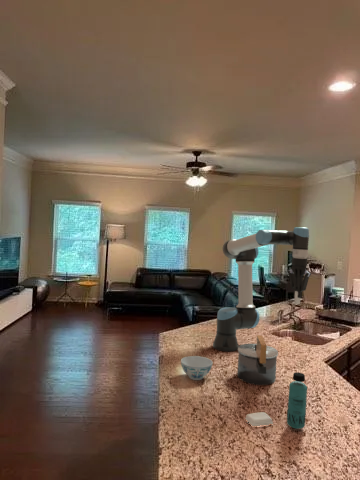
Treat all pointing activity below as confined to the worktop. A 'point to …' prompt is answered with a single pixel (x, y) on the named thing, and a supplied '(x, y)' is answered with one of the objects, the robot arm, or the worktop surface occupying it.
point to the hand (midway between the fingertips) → (297, 303)
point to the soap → (258, 419)
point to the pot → (256, 370)
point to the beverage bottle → (297, 402)
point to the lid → (258, 350)
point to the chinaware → (196, 366)
